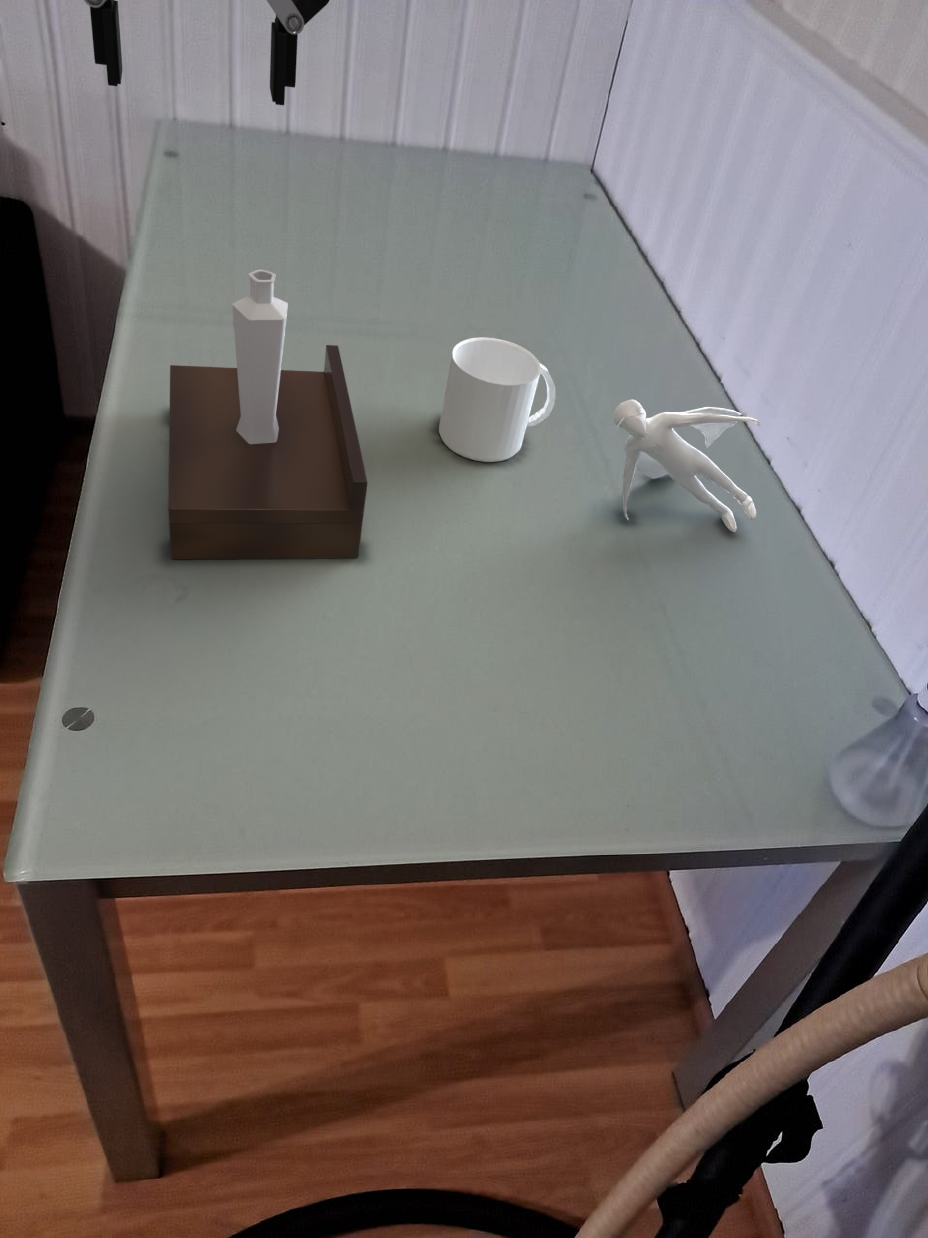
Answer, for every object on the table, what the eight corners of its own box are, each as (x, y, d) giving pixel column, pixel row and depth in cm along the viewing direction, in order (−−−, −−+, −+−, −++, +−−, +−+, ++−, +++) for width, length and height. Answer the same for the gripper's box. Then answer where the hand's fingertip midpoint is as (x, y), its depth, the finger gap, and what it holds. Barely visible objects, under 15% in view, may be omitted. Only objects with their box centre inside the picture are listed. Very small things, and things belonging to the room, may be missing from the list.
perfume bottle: (261, 454, 85) (265, 295, 75) (224, 432, 86) (223, 274, 76) (295, 434, 88) (304, 278, 78) (259, 413, 89) (263, 258, 79)
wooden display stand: (171, 559, 81) (166, 479, 76) (172, 413, 96) (168, 336, 90) (358, 558, 86) (367, 482, 80) (331, 418, 100) (338, 345, 95)
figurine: (783, 420, 100) (670, 301, 89) (816, 487, 92) (697, 367, 81) (662, 507, 108) (543, 407, 96) (684, 575, 100) (558, 476, 89)
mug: (443, 460, 98) (458, 381, 92) (433, 411, 105) (447, 333, 98) (555, 467, 101) (577, 390, 95) (539, 418, 107) (558, 343, 101)
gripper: (-12, -325, 43) (40, 92, 54) (373, -243, 47) (344, 126, 59) (8, -332, 48) (52, 51, 59) (354, -257, 52) (331, 85, 64)
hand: (197, 88), depth 59 cm, fingers open, 9 cm apart
